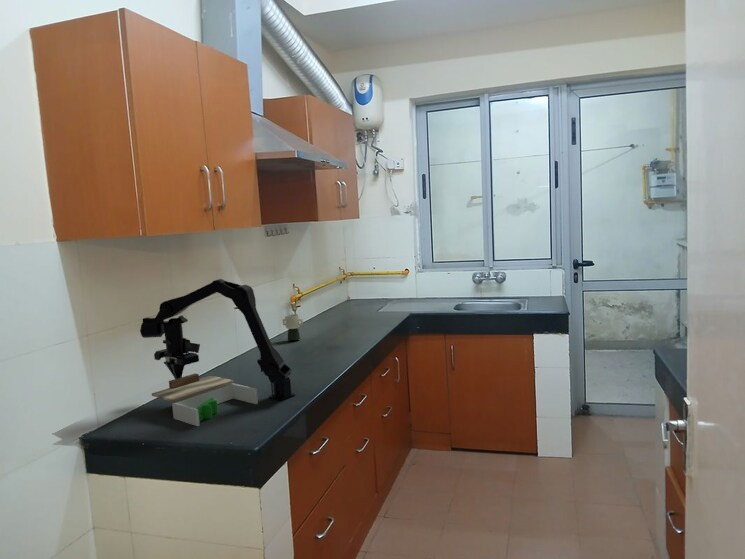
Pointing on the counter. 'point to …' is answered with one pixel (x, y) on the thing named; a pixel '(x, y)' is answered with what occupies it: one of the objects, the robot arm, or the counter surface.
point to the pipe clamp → (207, 409)
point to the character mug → (293, 326)
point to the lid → (190, 387)
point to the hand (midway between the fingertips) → (178, 381)
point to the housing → (187, 406)
